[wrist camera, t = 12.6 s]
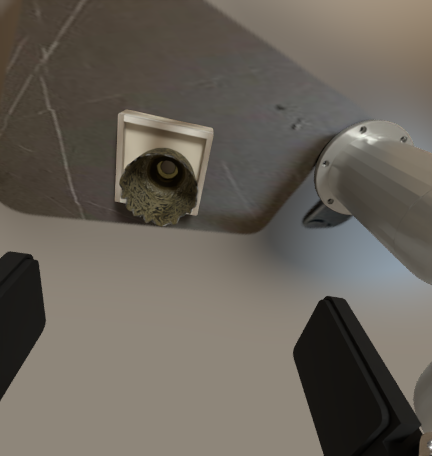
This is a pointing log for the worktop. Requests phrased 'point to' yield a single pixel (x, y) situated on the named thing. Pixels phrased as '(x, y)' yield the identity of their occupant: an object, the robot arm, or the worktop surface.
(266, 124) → the worktop surface
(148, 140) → the birch tray
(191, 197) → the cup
